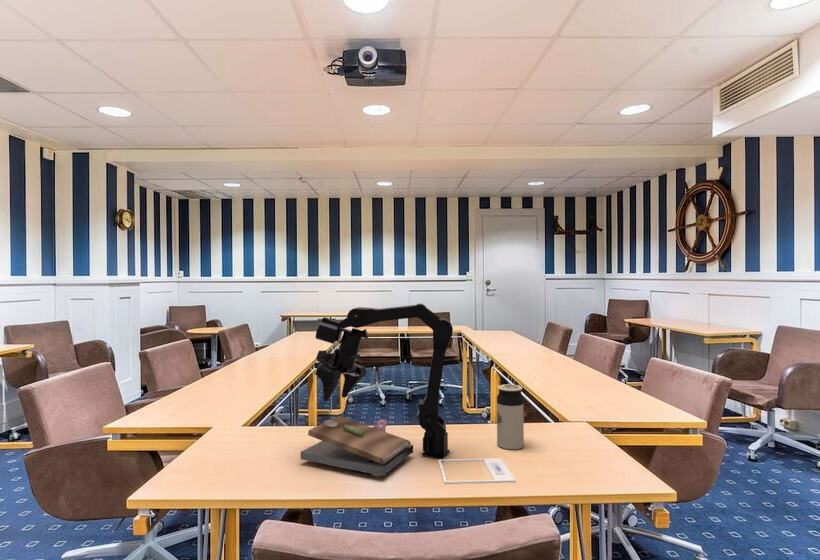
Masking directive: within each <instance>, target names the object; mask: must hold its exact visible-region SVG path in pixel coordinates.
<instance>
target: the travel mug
mask: <svg viewBox="0 0 820 560" xmlns="http://www.w3.org/2000/svg"><path fill="white" fill-rule="evenodd" d="M497 389H498V394H497V396H496V444H497V446H498V447H500V448H502V449H505V450H519V449H521V448H523V447H524V445H525V444H524V443H525V440H524V439H525V437H524V434H525V433H524V429H525V428H524V423H525V422H524V416H525V415H524V397H523V395H522V390H523V386H521V385H518V384H511V383H510V384H509V383H508V384H504V383H503V384H500V385H497Z"/></svg>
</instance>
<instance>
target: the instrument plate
mask: <svg viewBox="0 0 820 560" xmlns="http://www.w3.org/2000/svg"><path fill="white" fill-rule="evenodd" d="M372 427H373V426H372ZM372 427H371V426H369V425H366V424H365V423H364V424H363V423H361V422H358V421H355V420H352V419H349V418H347V417H345V416H341V415H338V416H336V417H334V418H332V419H328V420H323V423H321V424H318V425H317V426H315V427H312V428H310V429H308V433H307V436H309V437H312V438H314V439H317V440H319V441H324V442H327V443H329V444H332V445H334V446H337V447H339V448H342V449H345V450H347V451H350V452H352V453H355V454H357V455H360V456H362V457H365V458H368V459H370V460H373V461H375V462H378V463H380V464H385V463H386V462H388V461H389V460H390V459H392V458H393V457H395V456H396V455H397V454H399V453H400V452H401V451H403V450H404V449H405V448H407V447H408V446H409V445H412V443H411V441H410V440H409V439H406V438H403V437H400V436H398V435H395V434H392V433H390V432H387V431H385V432H384V431H381V430H378V429H375V428H372Z"/></svg>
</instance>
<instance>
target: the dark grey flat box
mask: <svg viewBox="0 0 820 560" xmlns="http://www.w3.org/2000/svg"><path fill="white" fill-rule="evenodd" d="M413 453H414V445H413V444H410V445H409V446H408V447H407V448H405V449H404V450H403V451H401V452H400V453H399V454H397V455H396V456H395V457H393V458H392V459H390V460H389V461H388V462H386V463H385V464H380V463H378V462H375V461H373V460H370V459H368V458H365V457H362V456H360V455H357V454H355V453H352V452H350V451H347V450H345V449H342V448H339V447H337V446H334V445H332V444H329V443H327V442H324V441H322V440H320V441H319V442H318V443H315V444H313V445H312V446H309V447H307V448H305V449H303V450H302V451H301V450H300V460H303V461H309V462H312V463H316V464H317V463H318V464H323V465H328V466H333V467H337V468H343V469H347V470H352V471H359V472H361V473H367V474H370V475H371V477H372V478H375V479H380V478H381V479H382V478H384V477H385V476H386V474H387V473H388V472H389V471H391V470H392V469H394V468H395V467H396V466H397V465H398V464H400V463H402V462H404V461H406V460H405V459H406V458H408V457H409V456H410V455H411V454H413Z"/></svg>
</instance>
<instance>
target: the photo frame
mask: <svg viewBox="0 0 820 560" xmlns="http://www.w3.org/2000/svg"><path fill="white" fill-rule="evenodd" d="M437 461H438V467H439V470H440V474H441V477H442V481H443V484H444V485H460V484H459V483H472V484H498V483H499V484H503V482H504V484H505V482H506V484H507V482H510V483H517V480H516V478H515V477H514V476H513V474H512V472H511V471H510V468H509V467H508V466H507V464H506V463H505V461H504V459H503V458H502V457H501V458H500V457H497V458H496V457H495V458H493V457H491V458H460V459H459V458H457V459H456V458H455V459H451V458H449V459H438V460H437ZM442 462H443V463H462V462H463V463H464V462H465V463H466V462H471V463H472V462H475V463H476V462H483V463H484V465H485V467H486V469H487V471H488V473H489V474H490V477H491V478H492V479H478V480H477V479H475V480H473V479H472V480H470V479H469V480H447V477H446V475H445V471H444V467H443V463H442Z"/></svg>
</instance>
